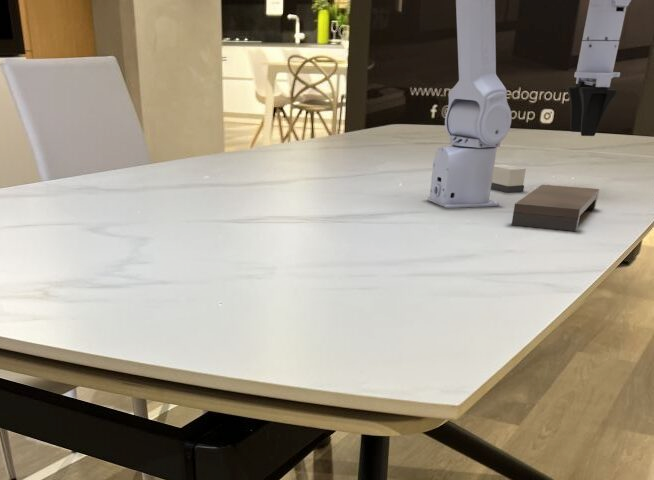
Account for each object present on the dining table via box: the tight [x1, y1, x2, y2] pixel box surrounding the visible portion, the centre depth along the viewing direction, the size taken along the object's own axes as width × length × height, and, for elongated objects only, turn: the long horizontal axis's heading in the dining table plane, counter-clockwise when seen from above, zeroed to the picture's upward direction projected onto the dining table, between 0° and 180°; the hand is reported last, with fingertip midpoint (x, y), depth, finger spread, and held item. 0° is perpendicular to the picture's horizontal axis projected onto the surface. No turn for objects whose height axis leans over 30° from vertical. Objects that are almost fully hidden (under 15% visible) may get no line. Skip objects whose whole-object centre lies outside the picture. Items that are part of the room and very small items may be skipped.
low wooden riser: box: [511, 184, 600, 232], centre depth 114 cm, size 20×9×3 cm, turn 152°
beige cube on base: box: [491, 164, 527, 193], centre depth 136 cm, size 8×4×4 cm, turn 24°
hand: (582, 133), depth 128 cm, fingers open, 7 cm apart
